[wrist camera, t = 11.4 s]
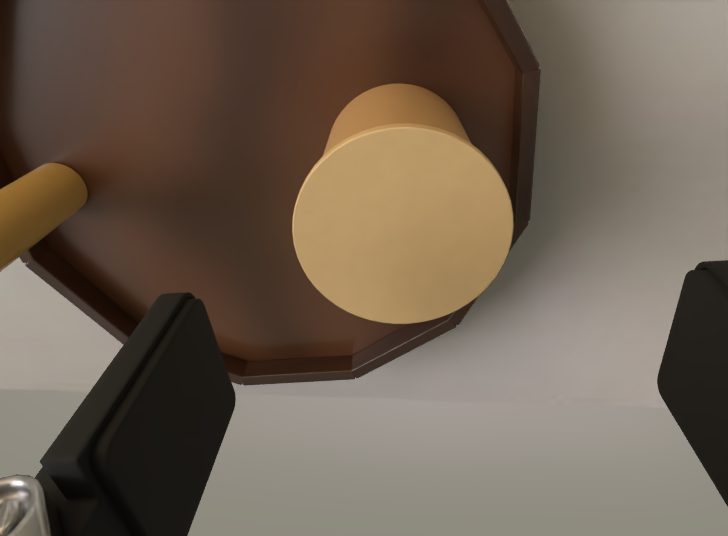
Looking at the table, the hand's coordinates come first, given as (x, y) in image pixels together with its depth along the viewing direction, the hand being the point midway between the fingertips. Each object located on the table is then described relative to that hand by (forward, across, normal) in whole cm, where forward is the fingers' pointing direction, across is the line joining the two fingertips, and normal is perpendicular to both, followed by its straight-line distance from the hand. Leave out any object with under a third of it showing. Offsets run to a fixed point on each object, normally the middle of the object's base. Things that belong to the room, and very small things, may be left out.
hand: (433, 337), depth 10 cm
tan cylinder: (+12, +1, 0) cm, 12 cm away
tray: (+12, +7, 0) cm, 14 cm away
